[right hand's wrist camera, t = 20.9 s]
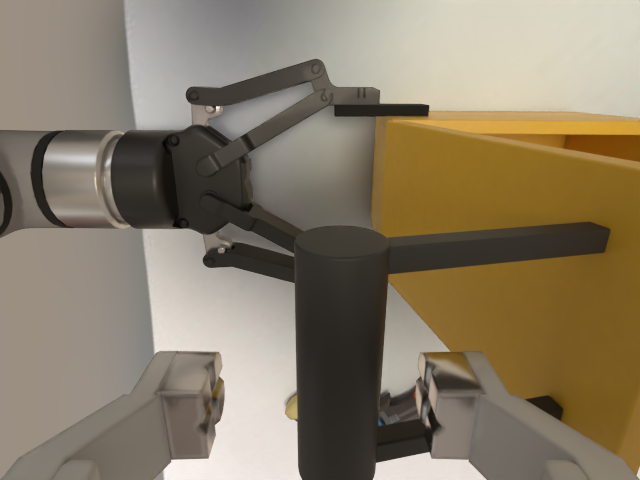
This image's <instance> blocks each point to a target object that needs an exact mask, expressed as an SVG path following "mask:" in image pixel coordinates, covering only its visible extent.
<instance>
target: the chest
mask: <svg viewBox="0 0 640 480" xmlns="http://www.w3.org/2000/svg"><path fill="white" fill-rule="evenodd" d="M395 120H402V121H408V122H413V123H419V124H425V125H431V126H436V127H442V128H448V129H453V130H459V131H465V132H471V133H476V134H482V135H488V136H493V137H499V138H505V139H511V140H516V141H522V142H528V143H534V144H539V145H545V146H551V147H556V148H562V149H568V150H574V151H579V152H585V153H591V154H596V155H602V156H608V157H614V158H619V159H625V160H631V161H636V162H640V118H632V117H622V116H611V115H601V114H591V113H581V112H491V111H429V114H428V116H386V117H376V126H375V146H374V167H373V188H372V208H371V221H372V225H373V228H374V231H376V232H378V233H380V229H381V212H382V194H383V177H384V159H385V142H386V124H387V121H395Z"/></svg>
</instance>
